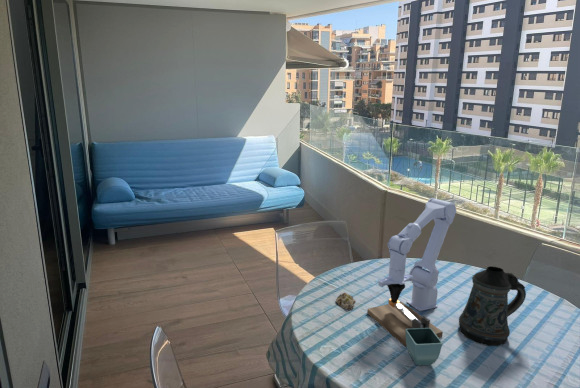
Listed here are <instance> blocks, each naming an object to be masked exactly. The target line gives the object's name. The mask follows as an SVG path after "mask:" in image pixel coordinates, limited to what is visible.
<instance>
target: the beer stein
mask: <svg viewBox="0 0 580 388" xmlns="http://www.w3.org/2000/svg"><path fill="white" fill-rule="evenodd" d="M471 277H472V278H471V279H472V288H471V291H470V293H469V295H468V300H467V302H466V304H465V307H464V308H463V311H462V312H461V314H460V315H459V318H458V326H459V331H460V333H461V334H462V335H463V337H464V338H466V339H468V340H470V341H472V342H474V343H476V344H480V345H484V346H489V347H490V346H491V347H500V346H503V345H504V344H505V343H506V342H507V341H508V338H509V336H510V332H511V331H510V328H509V323H508V322H509V321H508V317H510V316H511V315H513V314H514V313H515V312H516V311H517V310H519V308H520V307H521V306H522V305H523V304H524V302H525V300H526V297H527V292H526V286H525V285H524V284H523V283H520V281H519V279H518V277H516V275H514V273H512V272H505V271H504V269H503V268H501V267H497V266H487V267H486V269H484V270H481V271H479V272H476V273H475V274H473V275H472V276H471ZM510 291H517V292H516V295H515V297H514V298H513V299H512V300H511V301H510V302H509V301H508V300H509V299H508V294H509V292H510ZM508 302H509V303H508Z"/></svg>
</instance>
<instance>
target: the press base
mask: <svg viewBox="0 0 580 388" xmlns="http://www.w3.org/2000/svg"><path fill="white" fill-rule="evenodd" d="M399 302H400V304H401V305H402V306H403V307H405V308H406V309H407V310H408V311H409V312H410V313H411V314H413V315H414V316H415V317H416V318H417V319H418V320H419V321H420V322H422V323H424V325H425V328H431V329H432V330H433V331H434V333H435V334H436V335H437V337H438V338H439V339H440V338H442V337H443V334H444V332H443V331H442V330H441V329H439V328H438V327H437V326H436V325H434V324H433V323H431V321H430V319H428V318H427V317H425V316H422V315H420V314H419V313H417V312H416V311H415V310H413V308H411V307H410V306H408V305H407V304H405V303H404V302H403V301H401V300H399ZM366 310H367V311H366V312H367V313H366V314H367V315H369V316H370V317H371V318H372V319H373V320H374V321H375V322H376V323H378V324H379V325H380V326H381V327H382V328H383V329H384V330H385V331H387V332H388V333H389V334H390V335H391V336H392V337H393V338H395V339H396V340H397V341H398V342H399V343H400V344H402V345H403V346H404V347H405V348H407V345H406V332H405V329H413V328H420V326H421V323H420V322H419V321H417V320H416V319H413V320H412V323H411V322H410V321H409V320H408V319H407V318H405V317H404V316H403V315H402V314H401V313H400V312H399V311H398V310H397V309H396V308H395V307H392V306H391V305H390V304H389V303H388V304H382V305H379V306H374V307H370V308H369V307H368V308H367V309H366Z"/></svg>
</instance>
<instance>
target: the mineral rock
mask: <svg viewBox="0 0 580 388" xmlns="http://www.w3.org/2000/svg"><path fill="white" fill-rule="evenodd" d="M335 303H336V304H337V305H338V306H339V307H341V308H342V309H346V310H349V311H351V310H353V309H354V308H355V307H354V304H356V300H355V299H354V297H353V296H351V294H348V293H347V292H342V293H340V294H339V295H338V296H337V298H335Z"/></svg>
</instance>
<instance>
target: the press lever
mask: <svg viewBox="0 0 580 388" xmlns="http://www.w3.org/2000/svg"><path fill="white" fill-rule="evenodd" d="M387 303H388V304H390V305H391V306H392V307H395V308H396V309H397V310H398V311H399V312H400V313H401V314H402V315H403V316H404V317H405V318H407V319H408V320H409V321H410V322H411V323H412V320H413V319H416V320H417V321H419V320H418V319H417V318H416V317H415V316H414V315H413V314H411V313H410V312H409V311H408V310H407V309H406V308H405V307H403V306H402V305H401V304H400V300H398V301H397V302H394V301H392V300H391V298H388V302H387ZM419 322H420V321H419ZM420 323H421V326H420V328H425V325H424V323H422V322H420Z"/></svg>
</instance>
